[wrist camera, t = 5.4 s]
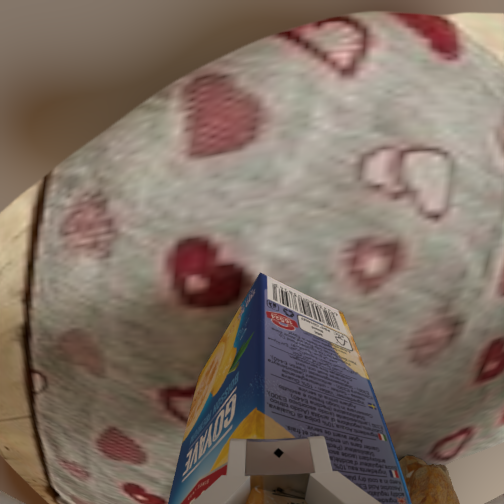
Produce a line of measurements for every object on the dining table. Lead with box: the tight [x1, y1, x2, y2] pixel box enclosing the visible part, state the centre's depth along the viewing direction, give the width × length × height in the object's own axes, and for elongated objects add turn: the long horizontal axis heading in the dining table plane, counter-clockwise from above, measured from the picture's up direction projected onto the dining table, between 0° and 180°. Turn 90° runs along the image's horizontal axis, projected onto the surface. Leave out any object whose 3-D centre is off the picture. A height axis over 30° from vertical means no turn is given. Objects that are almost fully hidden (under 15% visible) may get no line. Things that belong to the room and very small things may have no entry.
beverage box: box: [168, 273, 412, 504], centre depth 13 cm, size 7×11×22 cm, turn 152°
